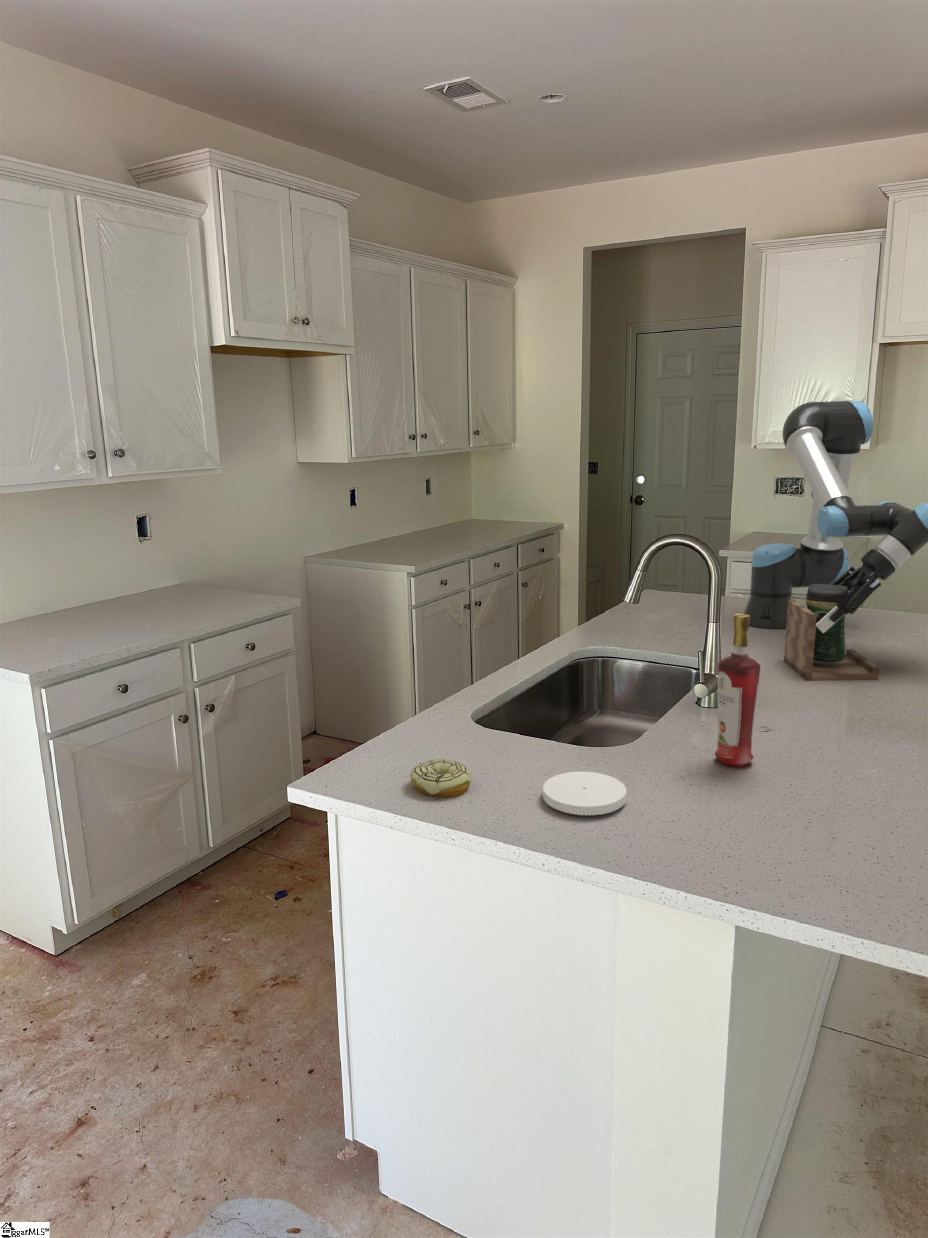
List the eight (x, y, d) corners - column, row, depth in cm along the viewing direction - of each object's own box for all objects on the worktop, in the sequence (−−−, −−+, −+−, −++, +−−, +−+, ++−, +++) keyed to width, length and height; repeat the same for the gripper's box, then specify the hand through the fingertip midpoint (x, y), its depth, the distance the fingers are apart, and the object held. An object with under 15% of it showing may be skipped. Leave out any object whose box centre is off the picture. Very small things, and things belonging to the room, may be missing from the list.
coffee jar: (847, 657, 216) (853, 583, 211) (840, 665, 209) (846, 589, 205) (806, 652, 221) (811, 579, 217) (798, 659, 215) (803, 585, 210)
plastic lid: (628, 788, 153) (628, 774, 153) (623, 824, 140) (624, 810, 140) (548, 782, 157) (548, 768, 156) (537, 817, 143) (537, 803, 143)
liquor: (704, 758, 164) (711, 613, 158) (736, 751, 167) (744, 609, 160) (730, 772, 158) (739, 622, 151) (762, 765, 161) (772, 617, 154)
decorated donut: (432, 806, 148) (431, 786, 147) (400, 785, 156) (399, 765, 155) (482, 790, 153) (482, 770, 153) (448, 770, 162) (448, 751, 161)
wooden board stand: (783, 661, 224) (788, 599, 220) (851, 660, 223) (856, 599, 219) (805, 680, 208) (810, 614, 204) (877, 679, 208) (884, 614, 204)
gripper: (916, 578, 199) (839, 646, 203) (875, 561, 220) (807, 623, 224) (894, 555, 198) (817, 624, 202) (856, 540, 219) (787, 603, 223)
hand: (812, 624), depth 213 cm, fingers closed on coffee jar, 9 cm apart
